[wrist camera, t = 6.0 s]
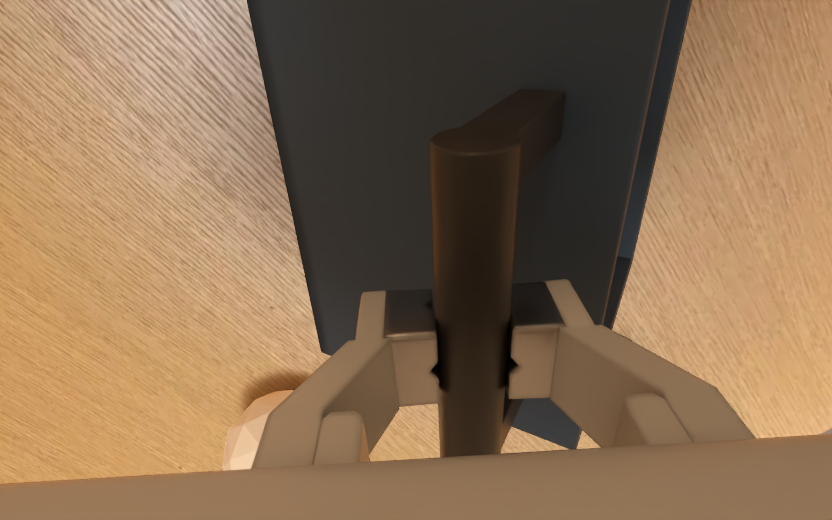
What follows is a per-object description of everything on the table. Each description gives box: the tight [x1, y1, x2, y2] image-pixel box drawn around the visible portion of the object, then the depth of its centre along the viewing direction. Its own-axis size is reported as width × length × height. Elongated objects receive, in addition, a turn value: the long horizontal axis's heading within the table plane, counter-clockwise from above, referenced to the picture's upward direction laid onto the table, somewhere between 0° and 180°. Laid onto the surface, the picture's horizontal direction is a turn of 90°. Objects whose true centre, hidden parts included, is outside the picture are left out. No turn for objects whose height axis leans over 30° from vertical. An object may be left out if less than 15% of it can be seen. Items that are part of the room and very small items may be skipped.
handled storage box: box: [247, 0, 692, 458], centre depth 16 cm, size 16×13×10 cm
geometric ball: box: [222, 390, 294, 471], centre depth 32 cm, size 8×8×8 cm
